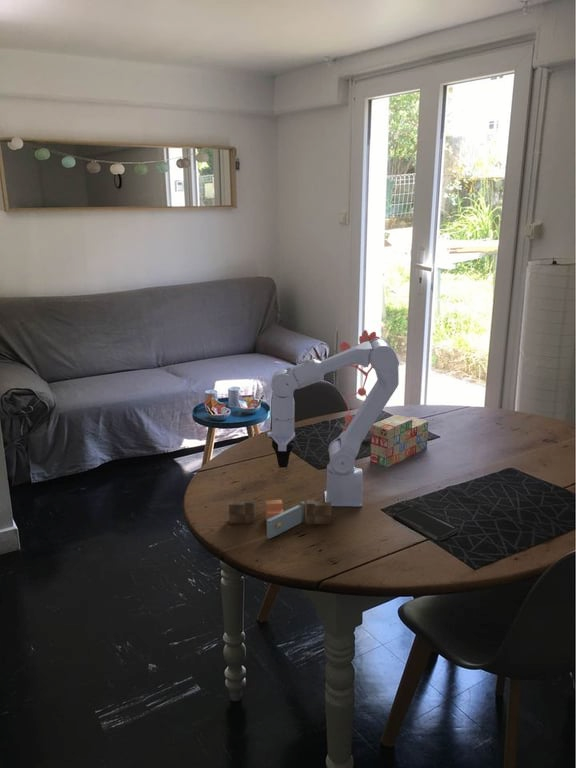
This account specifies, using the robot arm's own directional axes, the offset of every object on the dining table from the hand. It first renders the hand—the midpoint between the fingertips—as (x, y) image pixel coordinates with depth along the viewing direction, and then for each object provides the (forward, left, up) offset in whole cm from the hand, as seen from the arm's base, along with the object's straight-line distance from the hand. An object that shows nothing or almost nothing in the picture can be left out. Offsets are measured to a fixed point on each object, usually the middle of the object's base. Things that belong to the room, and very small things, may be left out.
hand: (283, 466), depth 165 cm
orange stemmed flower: (-27, -50, -10) cm, 58 cm away
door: (-2, +16, -9) cm, 19 cm away
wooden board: (+1, +12, -9) cm, 15 cm away
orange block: (+1, +13, -10) cm, 16 cm away
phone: (-35, +12, -10) cm, 38 cm away
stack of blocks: (-35, -31, -10) cm, 48 cm away
